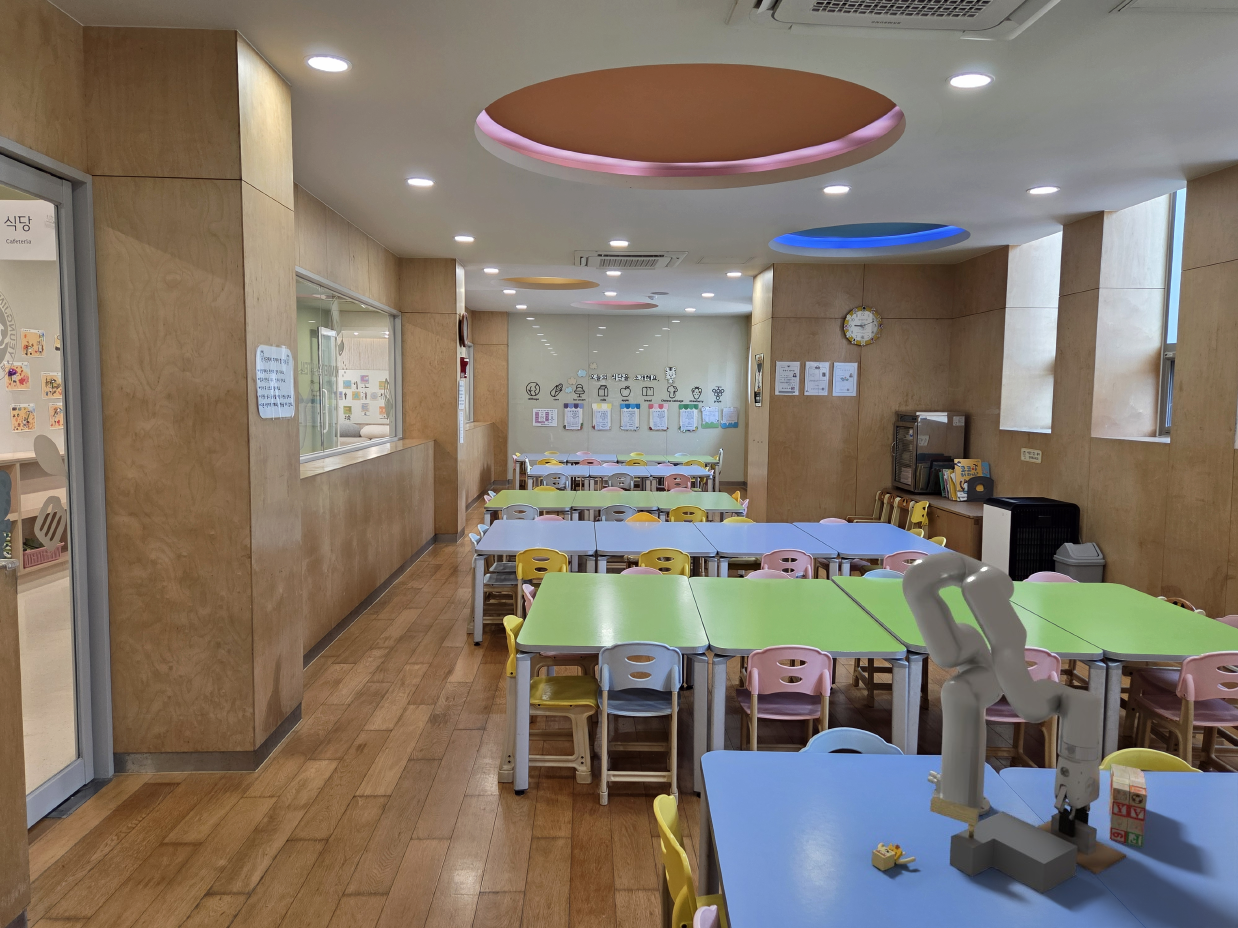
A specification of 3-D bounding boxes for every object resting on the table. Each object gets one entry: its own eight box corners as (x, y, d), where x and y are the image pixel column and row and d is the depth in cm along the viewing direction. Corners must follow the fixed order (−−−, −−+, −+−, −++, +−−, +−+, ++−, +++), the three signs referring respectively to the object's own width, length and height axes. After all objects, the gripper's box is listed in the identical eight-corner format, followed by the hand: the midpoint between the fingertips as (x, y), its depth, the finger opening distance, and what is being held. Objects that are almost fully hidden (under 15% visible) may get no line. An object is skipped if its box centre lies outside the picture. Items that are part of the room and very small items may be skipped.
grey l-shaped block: (947, 862, 163) (948, 834, 163) (1001, 837, 173) (1002, 811, 173) (1021, 904, 150) (1023, 874, 149) (1075, 874, 160) (1077, 846, 159)
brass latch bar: (974, 840, 160) (976, 814, 160) (929, 824, 166) (930, 799, 165) (977, 836, 162) (978, 810, 161) (932, 820, 167) (933, 795, 167)
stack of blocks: (1108, 799, 191) (1111, 750, 190) (1139, 806, 188) (1142, 756, 187) (1109, 840, 173) (1113, 786, 172) (1143, 848, 170) (1147, 793, 169)
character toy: (918, 850, 162) (893, 861, 157) (917, 865, 162) (892, 877, 158) (885, 832, 168) (861, 843, 164) (885, 846, 169) (860, 857, 164)
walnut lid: (1020, 840, 174) (1022, 812, 173) (1050, 826, 180) (1052, 798, 179) (1096, 878, 160) (1098, 847, 160) (1125, 861, 166) (1127, 831, 166)
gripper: (1074, 764, 161) (1069, 850, 162) (1116, 746, 170) (1111, 828, 171) (1038, 750, 167) (1033, 833, 168) (1081, 734, 176) (1076, 813, 177)
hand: (1073, 830), depth 170 cm, fingers open, 4 cm apart
